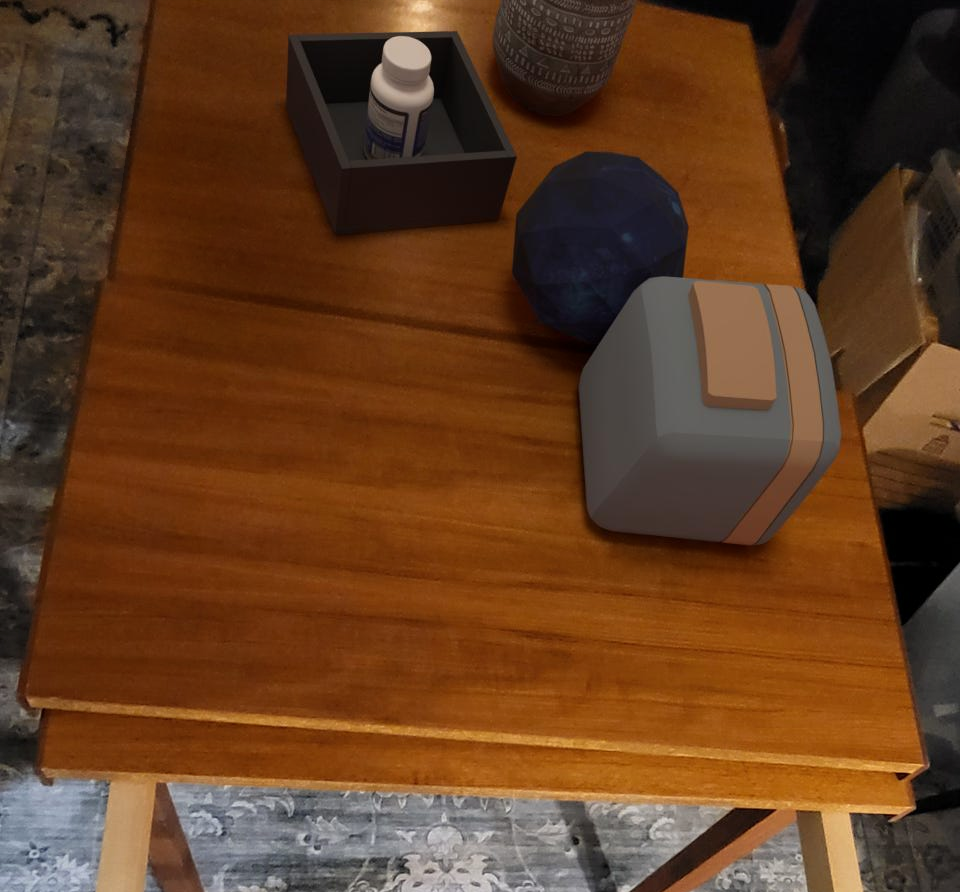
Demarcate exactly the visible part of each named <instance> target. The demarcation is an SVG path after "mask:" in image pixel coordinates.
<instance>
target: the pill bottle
mask: <svg viewBox="0 0 960 892" xmlns="http://www.w3.org/2000/svg"><path fill="white" fill-rule="evenodd" d="M430 65H431V53H430V51H429V49H428V48H427V47H426V46H425V45H424V44H423V43H422V42H420V41H418V40H416V39H414V38H411V37H406V36H397V37H393V38H391V39H389V40H388V41H387V42H386V43H385V45H384V48H383V55H382V63H381V64H380V65H378V66H377V67H376V69H375V70H374V72H373V74H372V78H371V85H370V93H369V103H368V112H367V121H366V129H365V138H364V153H365V156H366V158H367V159H368V160H370V159H385V158H401V157H416V156H423V153H424V147H425V142H426V136H427V130H428V125H429V119H430V113H431V108H432V102H433V95H434V86H433V82H432V80H431V78H430V76H429V72H430Z"/></svg>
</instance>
